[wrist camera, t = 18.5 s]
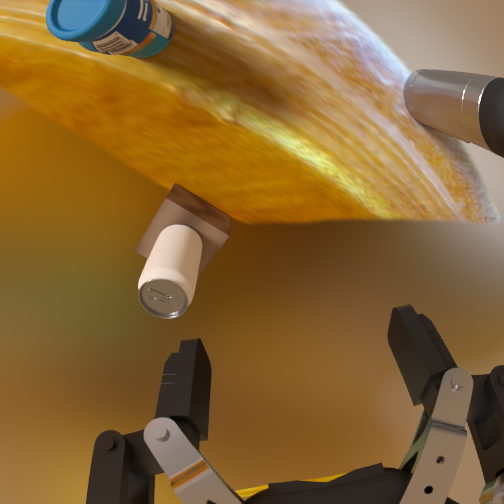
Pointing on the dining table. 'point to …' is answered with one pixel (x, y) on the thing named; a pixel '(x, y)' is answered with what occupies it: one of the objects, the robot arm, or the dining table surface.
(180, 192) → the walnut block
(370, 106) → the dining table surface
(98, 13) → the beverage bottle
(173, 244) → the can
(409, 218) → the dining table surface
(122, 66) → the dining table surface
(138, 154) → the dining table surface
